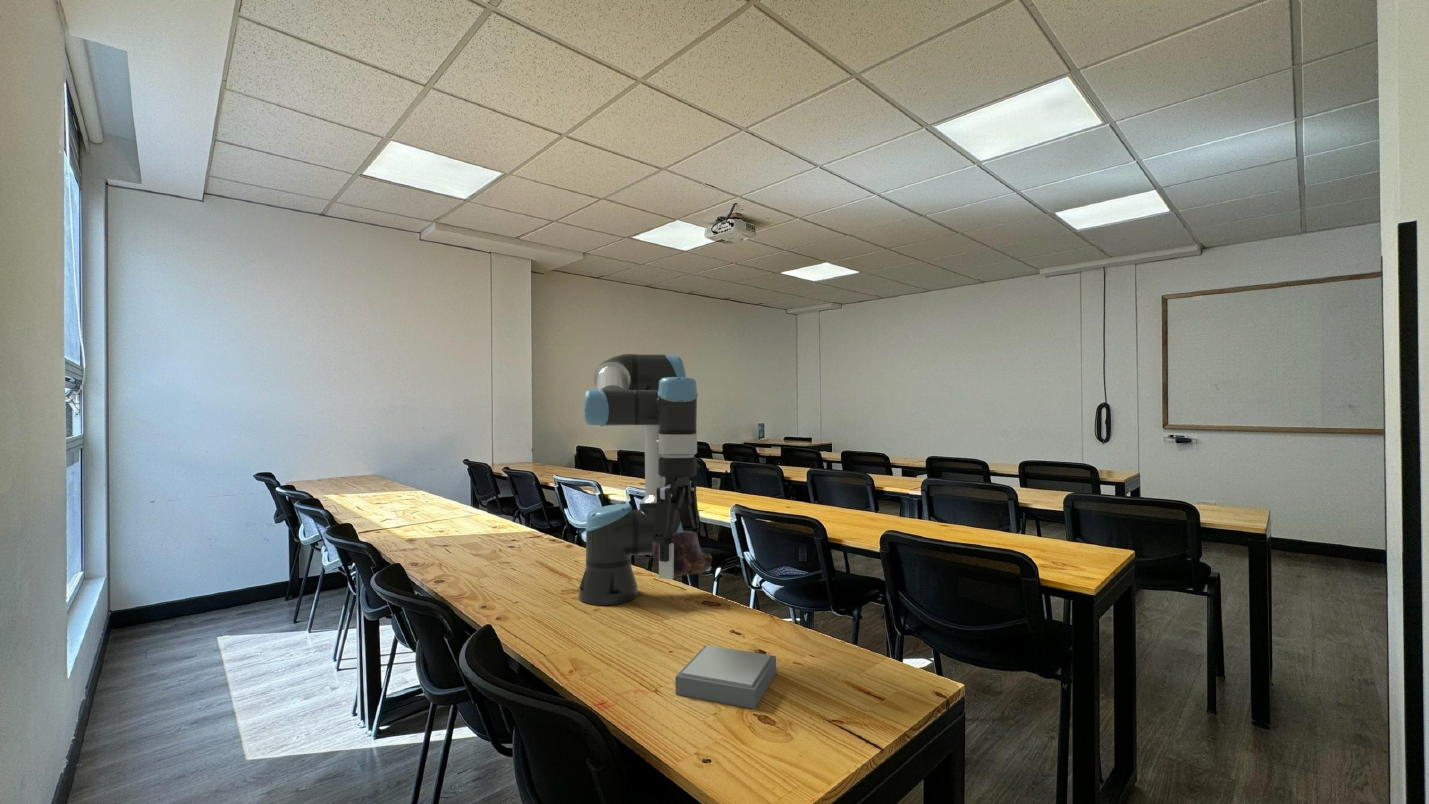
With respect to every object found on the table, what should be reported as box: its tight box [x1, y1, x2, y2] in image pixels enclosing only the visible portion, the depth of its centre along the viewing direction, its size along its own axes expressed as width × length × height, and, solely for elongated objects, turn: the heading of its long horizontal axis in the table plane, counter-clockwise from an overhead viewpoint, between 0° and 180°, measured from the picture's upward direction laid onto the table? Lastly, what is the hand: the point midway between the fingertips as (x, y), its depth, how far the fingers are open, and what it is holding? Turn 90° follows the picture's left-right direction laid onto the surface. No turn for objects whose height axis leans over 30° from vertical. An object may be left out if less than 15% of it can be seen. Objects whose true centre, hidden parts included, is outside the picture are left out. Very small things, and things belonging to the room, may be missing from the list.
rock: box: [651, 531, 713, 577], centre depth 112 cm, size 12×9×10 cm
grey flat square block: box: [674, 645, 777, 710], centre depth 102 cm, size 14×14×3 cm
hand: (677, 571), depth 112 cm, fingers closed on rock, 9 cm apart
